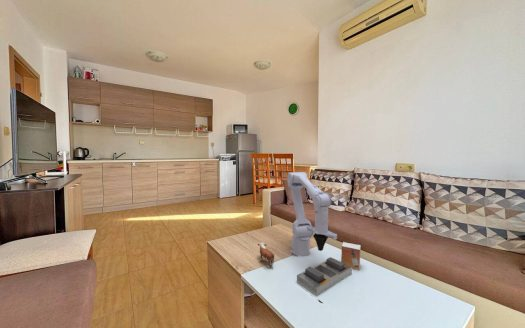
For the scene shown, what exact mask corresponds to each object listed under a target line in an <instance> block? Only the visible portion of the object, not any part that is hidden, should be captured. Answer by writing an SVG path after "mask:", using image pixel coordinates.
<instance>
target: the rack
mask: <svg viewBox="0 0 525 328" xmlns="http://www.w3.org/2000/svg"><path fill="white" fill-rule="evenodd" d="M332 258H333V257H332ZM333 259H335V258H333ZM312 268H313V269H315V270H317V271H319V272H320V273H322V274H324V281H323V282H321V283H320V284H319V283H317V282H315V281H314V280H312V279H311V278H309V277H307V276H306V275H305V270H304V271H302V272H300V273H298V274H296V283H297V284H298V285H300V286H301V287H303V288H305V289H306V290H307V291H309V292H310V293H312V294H313V295H314V296H316V297H318V296H319V295H320V294H322V293H324V292H326V291H327V290H328V289H330V288H332V287H333V286H335V285H336V284H338V283H340V282H341V281H342V280H344V279H346V278H347V277H349V276H351V275H352V271H353V269H352V267H351V266H349V265H346V264H344V270H343V271H341V272H340V271H338V270H336V269H334V268H332V267H330V266H329V265H327V264H326V260H325V261H324V260H323V262H320V263H318V264H317V265H314V266H313V267H312Z"/></svg>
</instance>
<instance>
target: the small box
mask: <svg viewBox="0 0 525 328" xmlns="http://www.w3.org/2000/svg"><path fill="white" fill-rule="evenodd" d="M361 247H362V246H361V244H355V243H349V242H345V241H343V242H342V245H341V254H340V257H341V258H340V262H342V263H344V264H346V265H349V266H351V267H352V270H356V271H360V267H361Z"/></svg>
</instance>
